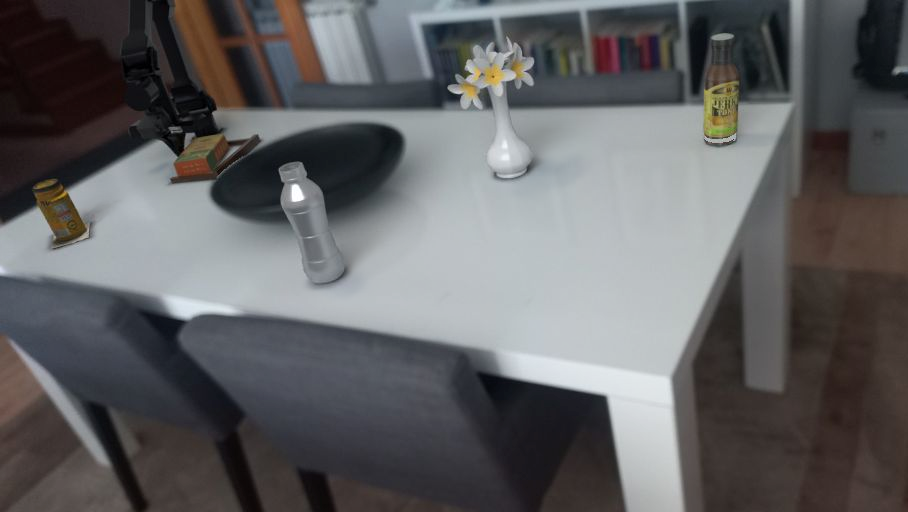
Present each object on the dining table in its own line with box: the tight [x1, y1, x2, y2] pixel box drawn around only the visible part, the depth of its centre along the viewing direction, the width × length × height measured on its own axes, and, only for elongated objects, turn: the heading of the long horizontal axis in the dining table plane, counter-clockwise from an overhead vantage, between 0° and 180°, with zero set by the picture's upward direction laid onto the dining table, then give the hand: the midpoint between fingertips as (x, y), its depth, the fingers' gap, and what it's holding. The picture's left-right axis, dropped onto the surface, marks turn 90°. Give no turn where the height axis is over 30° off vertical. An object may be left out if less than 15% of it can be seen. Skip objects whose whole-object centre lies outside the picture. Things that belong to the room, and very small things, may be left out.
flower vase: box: [447, 35, 535, 179], centre depth 137 cm, size 13×18×25 cm
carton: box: [172, 133, 230, 176], centre depth 179 cm, size 8×16×4 cm, turn 2°
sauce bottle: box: [702, 32, 740, 147], centre depth 134 cm, size 6×6×20 cm
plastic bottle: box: [278, 161, 346, 284], centre depth 115 cm, size 6×7×20 cm
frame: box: [169, 133, 261, 184], centre depth 179 cm, size 22×13×2 cm, turn 171°
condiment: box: [31, 178, 91, 249], centre depth 151 cm, size 7×8×12 cm
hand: (181, 158), depth 181 cm, fingers closed
